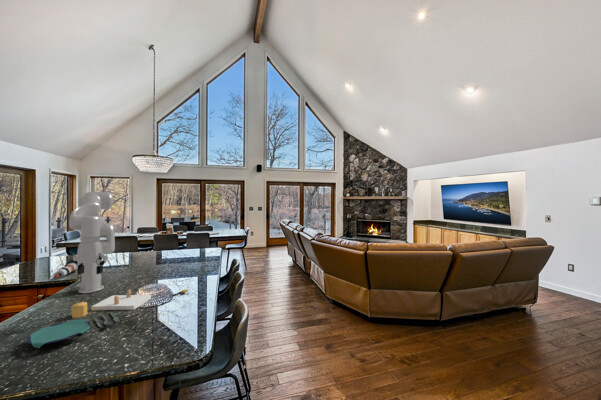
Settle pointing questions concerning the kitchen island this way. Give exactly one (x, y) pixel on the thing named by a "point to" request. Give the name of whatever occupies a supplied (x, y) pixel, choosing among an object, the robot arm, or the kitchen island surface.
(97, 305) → the plate
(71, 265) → the striped roll
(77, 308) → the acorn cap nut
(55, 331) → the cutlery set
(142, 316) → the kitchen island surface
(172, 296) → the composite cable
